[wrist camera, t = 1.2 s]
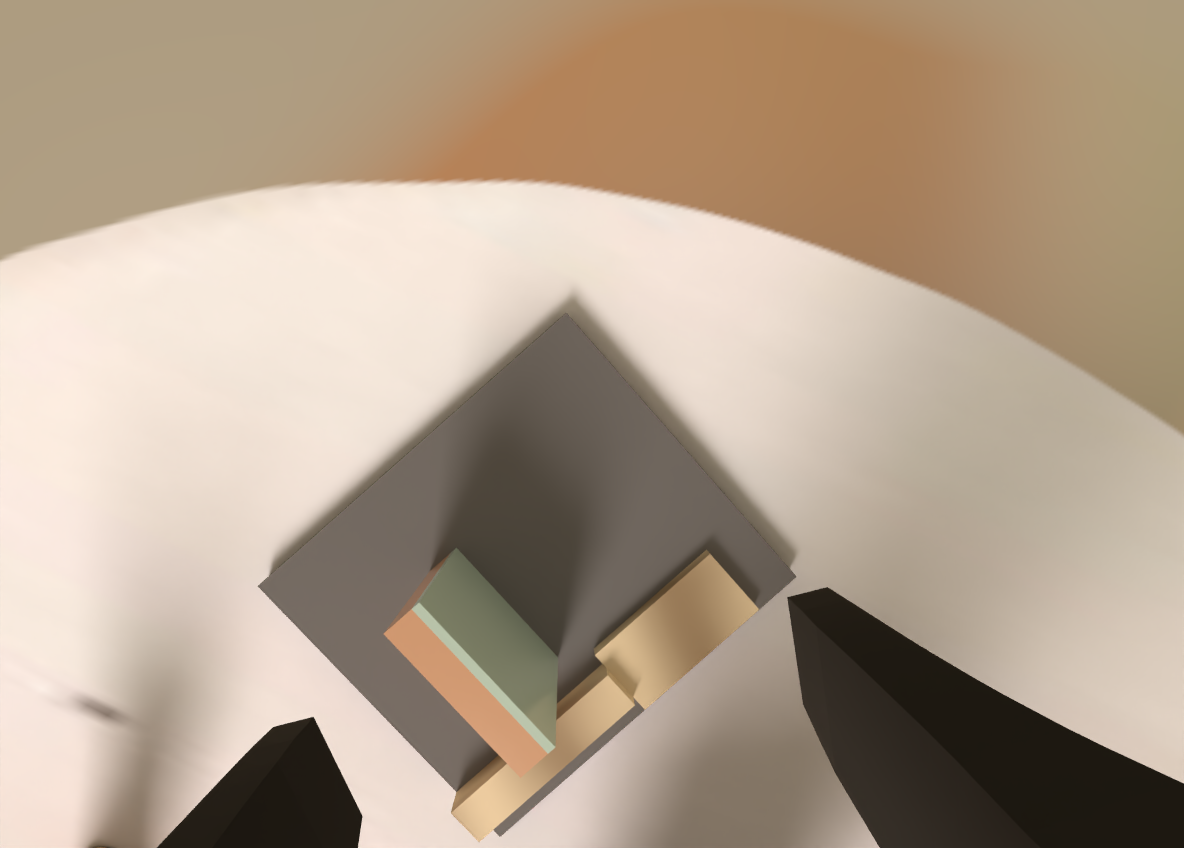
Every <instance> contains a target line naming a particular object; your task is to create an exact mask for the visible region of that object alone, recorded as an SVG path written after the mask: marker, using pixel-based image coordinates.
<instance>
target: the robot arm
mask: <svg viewBox="0 0 1184 848" xmlns="http://www.w3.org/2000/svg"><path fill="white" fill-rule="evenodd" d="M787 598H788V605H789V612H790V618H791V625H792V632H793V639H794V645H795V652H796V659H797V666H798V672H799V679H800V686H801V693H802V699H803V705H804V707H805V709H806V711H807V714H808V716H809V718H810V720H811V722H812V725H813V727H814V729H815V731H816V733H817V735H818V738H819V740H820V742H821V744H822V746H823V748H824V750H825V752H826V754H827V757H828V759H829V761H830V763H831V765H832V767H833V769H834V771H835V773H836V775H837V777H838V778H839V780H840V782H841V783H842V785H843V787H844V789H845V790H846V792H847V794H848V795H849V797H850V799H851V800H852V802H853V804H854V805H855V807H856V809H857V810H858V812H859V814H860V815H861V817H862V819H863V820H864V822H865V824H866V826H867V827H868V829H869V831H870V832H871V834H872V836H873V837H874V839H875V841H876V842H877V844H878V846H879V847H880V848H1184V784H1183V783H1181V782H1179V781H1177V780H1175V779H1173V778H1170V777H1168V776H1166V775H1164V774H1162V773H1160V772H1158V771H1155V770H1153V769H1151V768H1149V767H1147V766H1145V765H1143V764H1140V763H1138V762H1136V761H1134V760H1132V759H1130V758H1128V757H1125V756H1123V755H1121V754H1119V753H1117V752H1115V751H1112V750H1110V749H1108V748H1106V747H1104V746H1102V745H1100V744H1098V743H1096V742H1094V741H1092V740H1090V739H1088V738H1086V737H1084V736H1082V735H1080V734H1077V733H1075V732H1073V731H1071V730H1069V729H1067V728H1065V727H1064V726H1062V725H1060V724H1058V723H1056V722H1054V721H1052V720H1050V719H1048V718H1046V717H1045V716H1043V715H1041V714H1039V713H1037V712H1035V711H1033V710H1031V709H1030V708H1028V707H1026V706H1024V705H1022V704H1020V703H1018V702H1016V701H1014V700H1013V699H1011V698H1009V697H1007V696H1005V695H1003V694H1001V693H1000V692H998V691H996V690H994V689H992V688H991V687H989V686H987V685H985V684H984V683H982V682H980V681H978V680H977V679H975V678H973V677H971V676H970V675H968V674H966V673H965V672H963V671H961V670H960V669H958V668H956V667H955V666H953V665H951V664H949V663H948V662H946V661H944V660H943V659H941V658H939V657H938V656H936V655H934V654H933V653H931V652H929V651H928V650H926V649H924V648H923V647H921V646H919V645H918V644H916V643H915V642H913V641H911V640H910V639H908V638H907V637H905V636H903V635H902V634H900V633H899V632H897V631H895V630H894V629H892V628H891V627H889V626H888V625H886V624H884V623H883V622H881V621H880V620H878V619H877V618H875V617H873V616H872V615H870V614H869V613H867V612H866V611H864V610H863V609H861V608H859V607H858V606H856V605H855V604H853V603H852V602H850V601H848V600H847V599H845V598H844V597H842V596H840V595H839V594H837V593H836V592H834V591H833V590H831V589H829V588H828V587H826V588H822V589H818V590H814V591H810V592H807V593H803V594H799V595H795V596H791V597H787ZM361 822H362V814H361V812H360V810H359V808H358V806H357V804H356V802H355V800H354V798H353V796H352V794H351V792H350V790H349V788H348V786H347V784H346V782H345V780H344V778H343V776H342V774H341V772H340V770H339V768H338V766H337V764H336V762H335V760H334V758H333V756H332V753H331V751H330V749H329V747H328V745H327V743H326V741H325V739H324V737H323V735H322V733H321V731H320V729H319V727H318V725H317V723H316V721H315V719H314V717H311V718H307V719H303V720H299V721H295V722H291V723H288V724H284V725H280V726H276V727H273V728H272V729H271V730H270V731H269V732H268V733H267V734H266V735H264V736H263V737H262V738H261V739H260V740H259V741H258V742H257V743H256V744H255V745H254V746H253V747H252V748H251V749H250V750H249V751H248V752H247V753H246V754H245V755H244V756H243V757H242V758H241V759H240V760H239V761H238V762H237V764H236V765H235V766H234V767H233V768H232V769H231V770H230V771H229V772H228V773H227V774H226V775H225V776H224V777H223V778H222V779H221V780H220V781H219V782H218V784H217V785H216V786H215V787H214V788H213V789H212V790H211V791H210V792H209V793H208V794H207V795H206V796H205V797H204V798H203V799H202V801H201V802H200V803H199V804H198V805H197V806H196V807H195V808H194V809H193V810H192V811H191V812H190V813H189V814H188V815H187V816H186V818H185V819H184V820H183V821H182V822H181V823H180V824H179V825H178V826H177V827H176V828H175V829H174V830H173V831H172V832H171V833H170V834H169V835H168V837H167V838H166V839H165V840H164V841H163V842H162V843H161V844H160V845H159V846H158V847H157V848H358V842H359V836H360V829H361Z"/></svg>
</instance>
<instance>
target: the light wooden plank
mask: <svg viewBox="0 0 1184 848" xmlns="http://www.w3.org/2000/svg"><path fill="white" fill-rule="evenodd" d="M758 610H759V609H758V607H757V606H756V605H755V604H754V603H753V602H752V601H751V599H750V598H749V597H748V596H747V595H746V594H745V593H744V592H743V590H742V589H741V588H740V587H739V586H738V585H737V584H736V583H735V581H734V580H733V579H732V578H731V577H730V576H729V575H728V573H727V572H726V571H725V570H724V569H723V568H722V567H721V566H720V564H719V563H718V562H717V561H716V560H715V559H714V558H713V556H712V555H711V554H710V553H709V552H708V551H707V550H706V551H704V552H703V553H702V554H701V555H700V556H699V557H698V558H696V559H695V560H694V561H693V562H692V563H691V564H690V565H688V566H687V567H686V568H685V569H684V570H683V571H682V572H680V573H679V574H678V575H677V576H676V577H675V578H674V579H673V580H671V581H670V582H669V583H668V584H667V585H666V586H665V587H663V588H662V589H661V590H660V591H659V592H658V593H657V594H655V595H654V596H653V597H652V598H651V599H650V600H649V601H647V602H646V603H645V604H644V605H643V606H642V607H641V608H640V609H638V610H637V611H636V612H635V613H634V614H633V615H632V616H630V617H629V618H628V619H627V620H626V621H625V622H624V623H622V624H621V625H620V626H619V627H618V628H617V629H616V630H615V631H613V632H612V633H611V634H610V635H609V636H608V637H607V638H605V639H604V640H603V641H602V642H601V643H600V644H599V645H597V646H596V647H595V648H594V653H595V656H596V657H597V658H598V659H599V660H600V661H601V663H602V665H600V666H599V667H598V668H597V669H596V670H595V671H594V672H593V673H591V674H590V675H589V676H588V677H587V678H586V679H585V680H583V681H582V682H581V683H580V684H579V685H578V686H577V687H575V688H574V689H573V690H572V691H571V692H570V693H569V694H567V695H566V696H565V697H564V698H563V699H562V700H561V701H560V702H558V703H557V712H556V747H555V748H554V749H553V750H552V751H551V752H550V753H548V754H547V755H546V756H545V757H544V758H543V759H542V760H540V761H539V762H538V763H537V764H536V765H535V766H534V767H532V768H531V769H530V770H529V771H528V772H527V773H526V774H525V775H523V776H522V777H521V778H520V777H519V776H518V775H517V774H516V773H515V772H514V771H513V769H512V768H511V767H510V766H509V765H508V764H507V763H506V762H505V761H504V760H503V759H502V758H501V757H500V756H499V755H498V756H497V757H496V758H495V759H494V760H492V761H491V762H490V763H489V764H488V765H487V766H486V767H484V768H483V769H482V770H481V771H480V772H479V773H478V774H476V775H475V776H474V777H473V778H472V779H471V780H470V781H468V782H467V783H466V784H465V785H464V786H463V787H462V788H461V789H459V790H458V791H457V792H456V796H455V800H454V803H453V807H452V811H451V814H452V815H453V816H454V817H455V818H456V819H457V820H458V821H459V822H460V823H461V824H462V825H463V826H464V827H465V828H466V829H467V830H468V831H469V832H470V833H471V834H472V835H473V836H474V837H475V838H476V840H477V841H478V842H480V841H481V840H482V839H483V838H484V837H486V836H487V835H488V834H489V833H490V832H491V831H492V830H493V829H495V828H496V827H497V826H498V825H499V824H500V823H501V822H503V821H504V820H505V819H506V818H507V817H508V816H509V815H511V814H512V813H513V812H514V811H515V810H516V809H517V808H519V807H520V806H521V805H522V804H523V803H524V802H525V801H527V800H528V799H529V798H530V797H531V796H532V795H533V794H535V793H536V792H537V791H538V790H539V789H540V788H541V787H542V786H544V785H545V784H546V783H547V782H548V781H549V780H550V779H552V778H553V777H554V776H555V775H556V774H557V773H558V772H560V771H561V770H562V769H563V768H564V767H565V766H566V765H568V764H569V763H570V762H571V761H572V760H573V759H574V758H576V757H577V756H578V755H579V754H580V753H581V752H582V751H584V750H585V749H586V748H587V747H588V746H589V745H590V744H591V743H593V742H594V741H595V740H596V739H597V738H598V737H599V736H601V735H602V734H603V733H604V732H605V731H606V730H607V729H609V728H610V727H611V726H612V725H613V724H614V723H615V722H617V721H618V720H619V719H620V718H621V717H622V716H623V715H625V714H626V713H627V712H628V711H629V710H630V709H631V708H633V707H634V706H635V703H634V698H635V700H636V701H637V702H638V703H639V704H640V705H641V706H642V707H643V708H644V709H646V708H648V707H649V706H650V705H651V704H652V703H653V702H654V701H656V700H657V699H658V698H659V697H660V696H661V695H662V694H664V693H665V692H666V691H667V690H668V689H669V688H670V687H672V686H673V685H674V684H675V683H676V682H677V681H678V680H680V679H681V678H682V677H683V676H684V675H685V674H686V673H687V672H689V671H690V670H691V669H692V668H693V667H694V666H695V665H697V664H698V663H699V662H700V661H701V660H702V659H703V658H705V657H706V656H707V655H708V654H709V653H710V652H711V651H713V650H714V649H715V648H716V647H717V646H718V645H719V644H721V643H722V642H723V641H724V640H725V639H726V638H727V637H729V636H730V635H731V634H732V633H733V632H734V631H735V630H737V629H738V628H739V627H740V626H741V625H742V624H743V623H744V622H746V621H747V620H748V619H749V618H750V617H751V616H752V615H754V614H755V613H756V612H757V611H758ZM633 697H634V698H633Z"/></svg>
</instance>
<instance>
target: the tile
mask: <svg viewBox="0 0 1184 848" xmlns="http://www.w3.org/2000/svg"><path fill="white" fill-rule="evenodd" d="M384 635H385V636H386V637H387V638H388V639H389V640H390V641H391V642H392V644H393V645H394V646H395V647H396V648H397V649H398V650H399V651H400V652H401V653H402V654H403V655H404V656H405V657H406V658H407V659H408V660H409V661H410V662H411V663H412V665H413V666H414V667H415V668H416V669H417V670H418V671H419V672H420V673H421V674H422V675H423V676H424V677H425V678H426V679H427V680H428V681H429V682H430V683H431V684H432V686H433V687H434V688H435V689H436V690H437V691H438V692H439V693H440V694H441V695H442V696H443V697H444V698H445V699H446V700H447V701H448V702H449V703H450V704H451V705H452V706H453V708H454V709H455V710H456V711H457V712H458V713H459V714H460V715H461V716H462V717H463V718H464V719H465V720H466V721H467V722H468V723H469V724H470V725H471V726H472V727H473V729H474V730H475V731H476V732H477V733H478V734H479V735H480V736H481V737H482V738H483V739H484V740H485V741H486V742H487V743H488V744H489V745H490V746H491V747H492V748H493V750H494V751H495V752H496V753H497V754H498V755H499V756H500V757H501V758H502V759H503V760H504V761H505V762H506V763H507V764H508V765H509V766H510V767H511V768H512V769H513V771H514V772H515V773H516V774H517V775H518V776H519V777H520V778H521V777H522V776H523V775H525V774H526V773H527V772H528V771H529V770H530V769H531V768H532V767H534V766H535V765H536V764H537V763H538V762H539V761H540V760H542V759H543V758H544V757H545V756H546V755H547V754H548V753H550V752H551V751H552V750H553V749H554V748H555V747H556V712H557V678H558V657H557V656H556V655H555V653H554V652H553V651H552V650H551V649H550V648H549V647H548V646H547V645H546V644H545V643H544V642H543V641H542V639H541V638H540V637H539V636H538V635H537V634H536V633H535V632H534V631H533V630H532V629H531V628H530V627H529V625H528V624H527V623H526V622H525V621H524V620H523V619H522V618H521V617H520V616H519V615H518V614H517V612H516V611H515V610H514V609H513V608H512V607H511V606H510V605H509V604H508V603H507V602H506V601H505V600H504V598H503V597H502V596H501V595H500V594H499V593H498V592H497V591H496V590H495V589H494V588H493V587H492V585H491V584H490V583H489V582H488V581H487V580H486V579H485V578H484V577H483V576H482V575H481V574H480V573H479V571H478V570H477V569H476V568H475V567H474V566H473V565H472V564H471V563H470V562H469V561H468V560H467V558H466V557H465V556H464V555H463V554H462V553H461V552H460V551H459V550H458V549H457V548H455V549H454V550H453V551H452V552H451V553H450V554H449V555H448V556H446V557H445V558H444V559H443V560H442V561H441V562H440V563H438V564H437V565H436V566H435V567H434V568H433V569H432V570H431V571H430V572H429V573H428V574H427V576H426V577H425V578H424V580H423V581H422V582H421V584H420V585H419V586H418V588H417V589H416V590H415V592H414V593H413V595H412V596H411V597H410V599H409V600H408V601H407V603H406V604H405V605H404V607H403V608H402V609H401V611H400V612H399V613H398V615H397V616H396V618H395V619H394V620H393V622H392V623H391V624H390V626H389V627H388V628H387V630H386V631H385V632H384Z"/></svg>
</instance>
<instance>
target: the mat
mask: <svg viewBox="0 0 1184 848" xmlns="http://www.w3.org/2000/svg"><path fill="white" fill-rule="evenodd" d="M455 548H457V549H458V550H459V551H460V552H461V553H462V554H463V555H464V556H465V557H466V558H467V560H468V561H469V562H470V563H471V564H472V565H473V566H474V567H475V568H476V569H477V570H478V571H479V573H480V574H481V575H482V576H483V577H484V578H485V579H486V580H487V581H488V582H489V583H490V584H491V585H492V587H493V588H494V589H495V590H496V591H497V592H498V593H499V594H500V595H501V596H502V597H503V598H504V600H505V601H506V602H507V603H508V604H509V605H510V606H511V607H512V608H513V609H514V610H515V611H516V612H517V614H518V615H519V616H520V617H521V618H522V619H523V620H524V621H525V622H526V623H527V624H528V625H529V627H530V628H531V629H532V630H533V631H534V632H535V633H536V634H537V635H538V636H539V637H540V638H541V639H542V641H543V642H544V643H545V644H546V645H547V646H548V647H549V648H550V649H551V650H552V651H553V652H554V653H555V655H556V656H557V657H558V678H557V703H558V702H560V701H561V700H562V699H563V698H564V697H565V696H566V695H567V694H569V693H570V692H571V691H572V690H573V689H574V688H575V687H577V686H578V685H579V684H580V683H581V682H582V681H583V680H585V679H586V678H587V677H588V676H589V675H590V674H591V673H593V672H594V671H595V670H596V669H597V668H598V667H599V666H600V665H602V663H601V661H600V660H599V659H598V658H597V657H596V656H595V653H594V648H595V647H596V646H597V645H599V644H600V643H601V642H602V641H603V640H604V639H605V638H607V637H608V636H609V635H610V634H611V633H612V632H613V631H615V630H616V629H617V628H618V627H619V626H620V625H621V624H622V623H624V622H625V621H626V620H627V619H628V618H629V617H630V616H632V615H633V614H634V613H635V612H636V611H637V610H638V609H640V608H641V607H642V606H643V605H644V604H645V603H646V602H647V601H649V600H650V599H651V598H652V597H653V596H654V595H655V594H657V593H658V592H659V591H660V590H661V589H662V588H663V587H665V586H666V585H667V584H668V583H669V582H670V581H671V580H673V579H674V578H675V577H676V576H677V575H678V574H679V573H680V572H682V571H683V570H684V569H685V568H686V567H687V566H688V565H690V564H691V563H692V562H693V561H694V560H695V559H696V558H698V557H699V556H700V555H701V554H702V553H703V552H704V551H706V550H707V551H708V552H709V553H710V554H711V555H712V556H713V558H714V559H715V560H716V561H717V562H718V563H719V564H720V566H721V567H722V568H723V569H724V570H725V571H726V572H727V573H728V575H729V576H730V577H731V578H732V579H733V580H734V581H735V583H736V584H737V585H738V586H739V587H740V588H741V589H742V590H743V592H744V593H745V594H746V595H747V596H748V597H749V598H750V599H751V601H752V602H753V603H754V604H755V605H756V606H757V607H758V609H760V608H761V607H763V606H764V605H765V604H766V603H767V602H768V601H769V600H771V599H772V598H773V597H774V596H775V595H776V594H777V593H779V592H780V591H781V590H782V589H783V588H784V587H785V586H786V585H788V584H789V583H790V582H791V581H792V580H793V579H794V578H796V576H795V574H794V573H793V572H792V571H791V570H790V569H789V568H788V566H787V565H786V564H785V563H784V562H783V561H782V560H781V558H780V557H779V556H778V555H777V554H776V553H775V551H774V550H773V549H772V548H771V547H770V546H769V545H768V543H767V542H766V541H765V540H764V539H763V538H762V537H761V535H760V534H759V533H758V532H757V531H756V530H755V529H754V527H753V526H752V525H751V524H750V523H749V522H748V521H747V519H746V518H745V517H744V516H743V515H742V514H741V513H740V511H739V510H738V509H737V508H736V507H735V506H734V504H733V503H732V502H731V501H730V500H729V499H728V498H727V496H726V495H725V494H724V493H723V492H722V491H721V490H720V488H719V487H718V486H717V485H716V484H715V483H714V482H713V480H712V479H711V478H710V477H709V476H708V475H707V474H706V472H705V471H704V470H703V469H702V468H701V467H700V466H699V464H698V463H697V462H696V461H695V460H694V459H693V458H692V456H691V455H690V454H689V453H688V452H687V451H686V449H685V448H684V447H683V446H682V445H681V444H680V443H679V441H678V440H677V439H676V438H675V437H674V436H673V435H672V433H671V432H670V431H669V430H668V429H667V428H666V427H665V425H664V424H663V423H662V422H661V421H660V420H659V419H658V417H657V416H656V415H655V414H654V413H653V412H652V411H651V409H650V408H649V407H648V406H647V405H646V404H645V402H644V401H643V400H642V399H641V398H640V397H639V396H638V394H637V393H636V392H635V391H634V390H633V389H632V388H631V386H630V385H629V384H628V383H627V382H626V381H625V380H624V378H623V377H622V376H621V375H620V374H619V373H618V372H617V370H616V369H615V368H614V367H613V366H612V365H611V364H610V362H609V361H608V360H607V359H606V358H605V357H604V355H603V354H602V353H601V352H600V351H599V350H598V349H597V347H596V346H595V345H594V344H593V343H592V342H591V341H590V339H589V338H588V337H587V336H586V335H585V334H584V333H583V331H582V330H581V329H580V328H579V327H578V326H577V325H576V323H575V322H574V321H573V320H572V319H571V318H570V317H569V315H568V314H567V313H566V314H564V315H563V316H562V317H561V318H560V319H559V320H558V321H557V322H555V323H554V324H553V325H552V326H551V327H550V328H549V329H548V330H546V331H545V332H544V333H543V334H542V335H541V336H540V337H538V338H537V339H536V340H535V341H534V342H533V343H532V344H531V345H529V346H528V347H527V348H526V349H525V350H524V351H523V352H522V353H520V354H519V355H518V356H517V357H516V358H515V359H514V360H513V361H511V362H510V363H509V364H508V365H507V366H506V367H505V368H503V369H502V370H501V371H500V372H499V373H498V374H497V375H496V376H494V377H493V378H492V379H491V380H490V381H489V382H488V383H487V384H485V385H484V386H483V387H482V388H481V389H480V390H479V391H478V392H476V393H475V394H474V395H473V396H472V397H471V398H470V399H468V400H467V401H466V402H465V403H464V404H463V405H462V406H461V407H459V408H458V409H457V410H456V411H455V412H454V413H453V414H452V415H450V416H449V417H448V418H447V419H446V420H445V421H444V422H443V423H441V424H440V425H439V426H438V427H437V428H436V429H435V430H433V431H432V432H431V433H430V434H429V435H428V436H427V437H426V438H424V439H423V440H422V441H421V442H420V443H419V444H418V445H417V446H415V447H414V448H413V449H412V450H411V451H410V452H409V453H408V454H406V455H405V456H404V457H403V458H402V459H401V460H400V461H398V462H397V463H396V464H395V465H394V466H393V467H392V468H391V469H389V470H388V471H387V472H386V473H385V474H384V475H383V476H382V477H380V478H379V479H378V480H377V481H376V482H375V483H374V484H373V485H371V486H370V487H369V488H368V489H367V490H366V491H365V492H363V493H362V494H361V495H360V496H359V497H358V498H357V499H356V500H354V501H353V502H352V503H351V504H350V505H349V506H348V507H347V508H345V509H344V510H343V511H342V512H341V513H340V514H339V515H338V516H336V517H335V518H334V519H333V520H332V521H331V522H330V523H328V524H327V525H326V526H325V527H324V528H323V529H322V530H321V531H319V532H318V533H317V534H316V535H315V536H314V537H313V538H312V539H310V540H309V541H308V542H307V543H306V544H305V545H304V546H302V547H301V548H300V549H299V550H298V551H297V552H296V553H295V554H293V555H292V556H291V557H290V558H289V559H288V560H287V561H286V562H284V563H283V564H282V565H281V566H280V567H279V568H278V569H277V570H275V571H274V572H273V573H272V574H271V575H270V576H269V577H267V578H266V579H265V580H264V581H263V582H262V583H261V584H260V585H258V587H259V588H260V589H261V590H262V591H263V592H264V593H265V594H266V595H267V596H268V597H269V598H270V599H271V600H272V602H273V603H274V604H275V605H276V606H277V607H278V608H279V609H280V610H281V611H282V612H283V613H284V614H285V615H286V616H287V617H288V618H289V619H290V620H291V621H292V622H293V623H294V624H295V625H296V626H297V627H298V628H299V629H300V630H301V632H302V633H303V634H304V635H305V636H306V637H307V638H308V639H309V640H310V641H311V642H312V643H313V644H314V645H315V646H316V647H317V648H318V649H319V650H320V651H321V652H322V653H323V654H324V655H325V656H326V657H327V658H328V659H329V661H330V662H331V663H332V664H333V665H334V666H335V667H336V668H337V669H338V670H339V671H340V672H341V673H342V674H343V675H344V676H345V677H346V678H347V679H348V680H349V681H350V682H351V683H352V684H353V685H354V686H355V687H356V688H357V689H358V691H359V692H360V693H361V694H362V695H363V696H364V697H365V698H366V699H367V700H368V701H369V702H370V703H371V704H372V705H373V706H374V707H375V708H376V709H377V710H378V711H379V712H380V713H381V714H382V715H383V716H384V717H385V718H386V719H387V721H388V722H389V723H390V724H391V725H392V726H393V727H394V728H395V729H396V730H397V731H398V732H399V733H400V734H401V735H402V736H403V737H404V738H405V739H406V740H407V741H408V742H409V743H410V744H411V745H412V746H413V747H414V748H415V749H416V751H417V752H418V753H419V754H420V755H421V756H422V757H423V758H424V759H425V760H426V761H427V762H428V763H429V764H430V765H431V766H432V767H433V768H434V769H435V770H436V771H437V772H438V773H439V774H440V775H441V776H442V777H443V778H444V779H445V781H446V782H447V783H448V784H449V785H450V786H451V787H452V788H453V789H454V790H455V791H456V792H457V791H458V790H459V789H461V788H462V787H463V786H464V785H465V784H466V783H467V782H468V781H470V780H471V779H472V778H473V777H474V776H475V775H476V774H478V773H479V772H480V771H481V770H482V769H483V768H484V767H486V766H487V765H488V764H489V763H490V762H491V761H492V760H494V759H495V758H496V757H497V756H498V754H497V753H496V752H495V751H494V750H493V748H492V747H491V746H490V745H489V744H488V743H487V742H486V741H485V740H484V739H483V738H482V737H481V736H480V735H479V734H478V733H477V732H476V731H475V730H474V729H473V727H472V726H471V725H470V724H469V723H468V722H467V721H466V720H465V719H464V718H463V717H462V716H461V715H460V714H459V713H458V712H457V711H456V710H455V709H454V708H453V706H452V705H451V704H450V703H449V702H448V701H447V700H446V699H445V698H444V697H443V696H442V695H441V694H440V693H439V692H438V691H437V690H436V689H435V688H434V687H433V686H432V684H431V683H430V682H429V681H428V680H427V679H426V678H425V677H424V676H423V675H422V674H421V673H420V672H419V671H418V670H417V669H416V668H415V667H414V666H413V665H412V663H411V662H410V661H409V660H408V659H407V658H406V657H405V656H404V655H403V654H402V653H401V652H400V651H399V650H398V649H397V648H396V647H395V646H394V645H393V644H392V642H391V641H390V640H389V639H388V638H387V637H386V636H385V635H384V632H385V631H386V630H387V628H388V627H389V626H390V624H391V623H392V622H393V620H394V619H395V618H396V616H397V615H398V613H399V612H400V611H401V609H402V608H403V607H404V605H405V604H406V603H407V601H408V600H409V599H410V597H411V596H412V595H413V593H414V592H415V590H416V589H417V588H418V586H419V585H420V584H421V582H422V581H423V580H424V578H425V577H426V576H427V574H428V573H429V572H430V571H431V570H432V569H433V568H434V567H435V566H436V565H437V564H438V563H440V562H441V561H442V560H443V559H444V558H445V557H446V556H448V555H449V554H450V553H451V552H452V551H453V550H454V549H455ZM633 698H634V697H633ZM634 703H635V706H634V707H633V708H631V709H630V710H629V711H628V712H627V713H626V714H625V715H623V716H622V717H621V718H620V719H619V720H618V721H617V722H615V723H614V724H613V725H612V726H611V727H610V728H609V729H607V730H606V731H605V732H604V733H603V734H602V735H601V736H599V737H598V738H597V739H596V740H595V741H594V742H593V743H591V744H590V745H589V746H588V747H587V748H586V749H585V750H584V751H582V752H581V753H580V754H579V755H578V756H577V757H576V758H574V759H573V760H572V761H571V762H570V763H569V764H568V765H566V766H565V767H564V768H563V769H562V770H561V771H560V772H558V773H557V774H556V775H555V776H554V777H553V778H552V779H550V780H549V781H548V782H547V783H546V784H545V785H544V786H542V787H541V788H540V789H539V790H538V791H537V792H536V793H535V794H533V795H532V796H531V797H530V798H529V799H528V800H527V801H525V802H524V803H523V804H522V805H521V806H520V807H519V808H517V809H516V810H515V811H514V812H513V813H512V814H511V815H509V816H508V817H507V818H506V819H505V820H504V821H503V822H501V823H500V824H499V825H498V826H497V827H496V828H495V829H493V830H494V831H495V832H496V833H497V834H498V835H499V836H502V835H503V834H504V833H505V832H506V831H507V830H508V829H510V828H511V827H512V826H513V825H514V824H515V823H516V822H517V821H519V820H520V819H521V818H522V817H523V816H524V815H525V814H527V813H528V812H529V811H530V810H531V809H532V808H533V807H535V806H536V805H537V804H538V803H539V802H540V801H541V800H543V799H544V798H545V797H546V796H547V795H548V794H549V793H551V792H552V791H553V790H554V789H555V788H556V787H557V786H559V785H560V784H561V783H562V782H563V781H564V780H565V779H567V778H568V777H569V776H570V775H571V774H572V773H573V772H574V771H576V770H577V769H578V768H579V767H580V766H581V765H582V764H584V763H585V762H586V761H587V760H588V759H589V758H590V757H592V756H593V755H594V754H595V753H596V752H597V751H598V750H600V749H601V748H602V747H603V746H604V745H605V744H606V743H608V742H609V741H610V740H611V739H612V738H613V737H614V736H616V735H617V734H618V733H619V732H620V731H621V730H622V729H623V728H625V727H626V726H627V725H628V724H629V723H630V722H631V721H633V720H634V719H635V718H636V717H637V716H638V715H639V714H641V713H642V712H643V711H644V710H645V709H644V708H643V707H642V706H641V705H640V704H639V703H638V702H637V701H636V700H635V698H634Z"/></svg>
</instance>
